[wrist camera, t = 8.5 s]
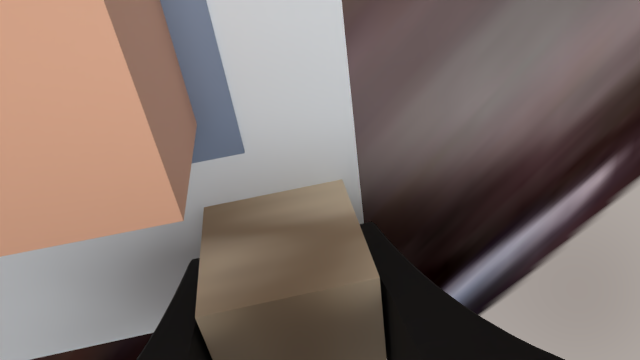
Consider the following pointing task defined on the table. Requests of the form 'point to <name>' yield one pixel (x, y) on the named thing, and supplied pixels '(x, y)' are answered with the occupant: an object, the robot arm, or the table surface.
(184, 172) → the terracotta block
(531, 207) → the table surface
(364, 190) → the table surface
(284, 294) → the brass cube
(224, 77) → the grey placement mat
